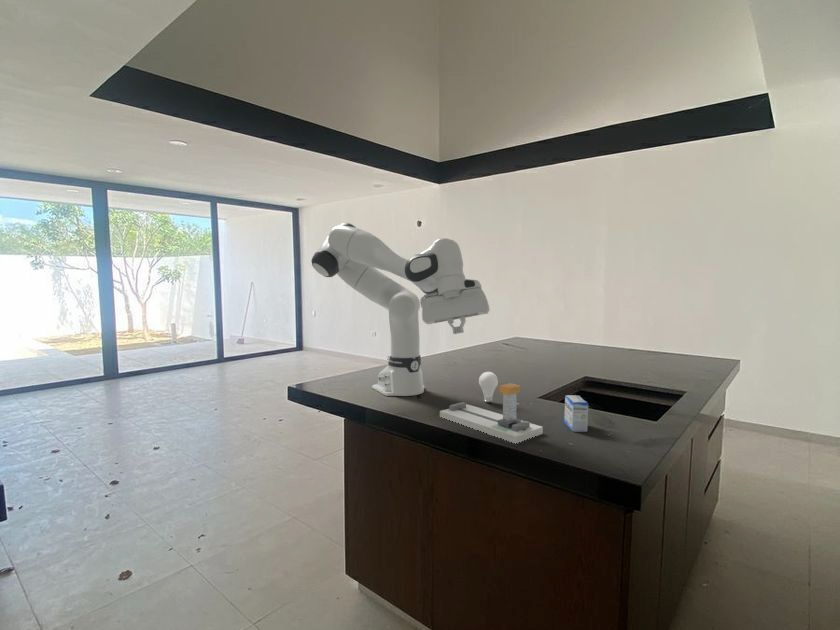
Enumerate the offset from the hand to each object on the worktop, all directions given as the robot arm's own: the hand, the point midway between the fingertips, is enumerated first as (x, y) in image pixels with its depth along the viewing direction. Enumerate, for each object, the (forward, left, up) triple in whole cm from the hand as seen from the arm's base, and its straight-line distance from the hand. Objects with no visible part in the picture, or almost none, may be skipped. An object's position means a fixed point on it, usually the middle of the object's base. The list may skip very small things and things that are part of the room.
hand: (458, 333), depth 130 cm
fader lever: (+14, +6, -25) cm, 30 cm away
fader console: (+6, +6, -28) cm, 29 cm away
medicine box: (+24, +24, -28) cm, 44 cm away
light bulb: (-10, +24, -28) cm, 38 cm away
